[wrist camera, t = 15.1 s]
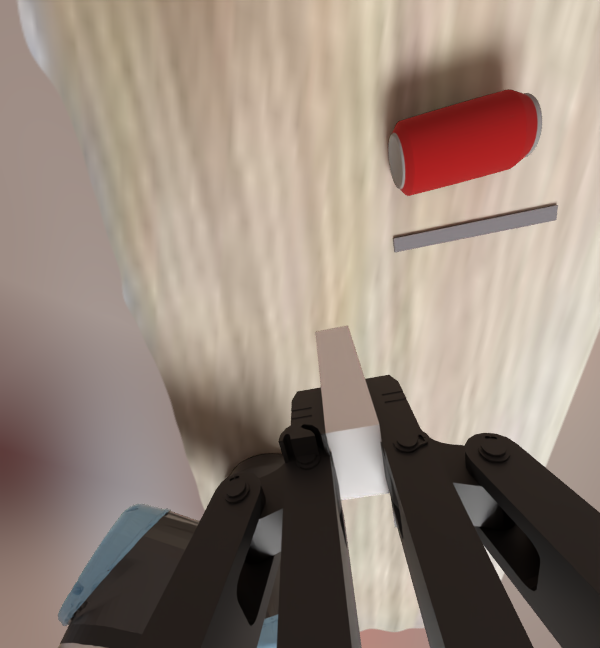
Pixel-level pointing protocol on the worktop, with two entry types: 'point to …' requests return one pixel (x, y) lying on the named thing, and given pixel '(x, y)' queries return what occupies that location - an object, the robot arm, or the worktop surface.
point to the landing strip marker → (476, 228)
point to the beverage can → (464, 141)
